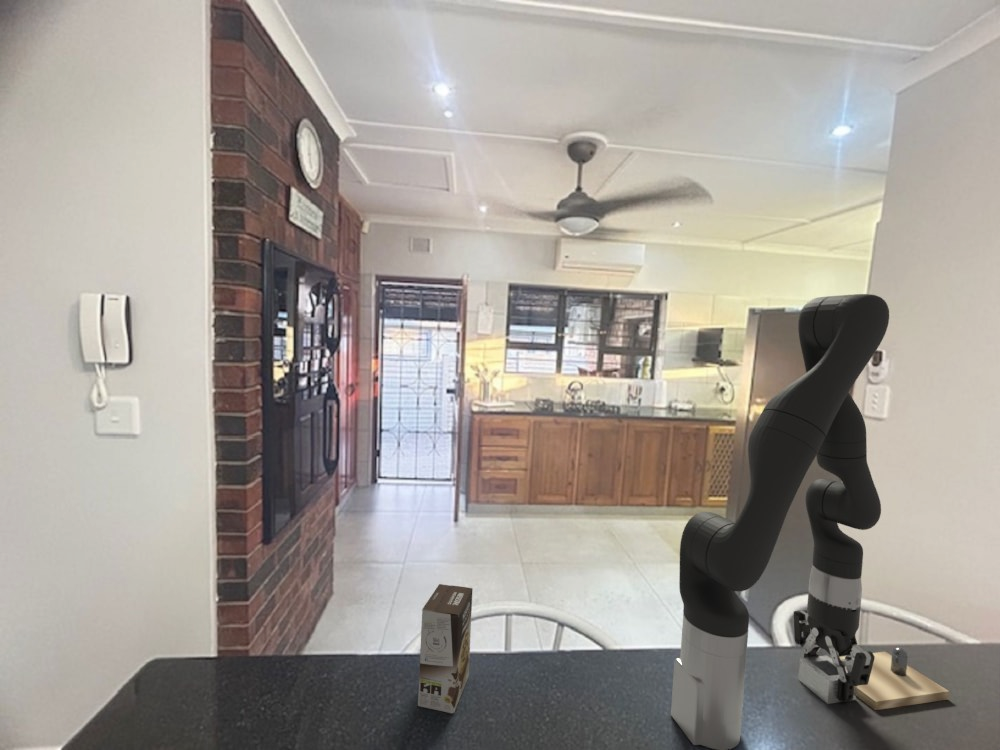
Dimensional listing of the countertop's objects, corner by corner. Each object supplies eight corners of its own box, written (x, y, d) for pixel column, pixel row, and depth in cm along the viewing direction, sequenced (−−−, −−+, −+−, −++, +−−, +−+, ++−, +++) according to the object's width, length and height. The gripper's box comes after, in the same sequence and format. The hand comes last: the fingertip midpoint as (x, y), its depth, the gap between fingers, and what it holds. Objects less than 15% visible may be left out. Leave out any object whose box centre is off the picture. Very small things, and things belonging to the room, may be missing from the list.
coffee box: (455, 715, 73) (459, 615, 73) (416, 707, 75) (420, 609, 74) (470, 676, 82) (474, 587, 82) (435, 669, 84) (439, 581, 83)
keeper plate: (875, 710, 79) (878, 675, 78) (817, 666, 89) (820, 635, 89) (948, 699, 82) (951, 665, 82) (884, 658, 93) (887, 629, 92)
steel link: (827, 703, 80) (829, 681, 79) (798, 679, 85) (799, 658, 85) (856, 700, 81) (857, 677, 81) (825, 676, 87) (827, 655, 86)
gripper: (783, 576, 89) (776, 662, 89) (855, 619, 74) (847, 721, 75) (816, 574, 90) (809, 658, 91) (893, 616, 76) (884, 715, 77)
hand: (826, 686), depth 83 cm, fingers closed on steel link, 6 cm apart
